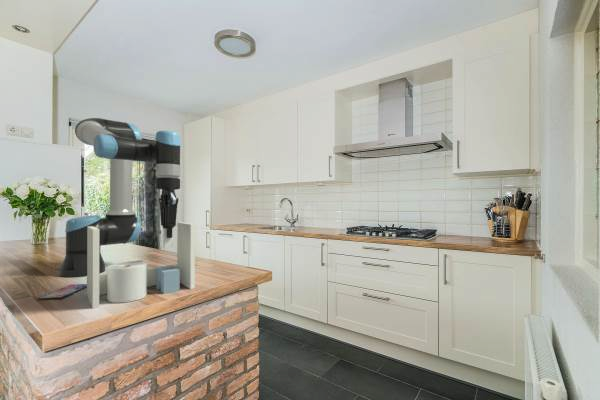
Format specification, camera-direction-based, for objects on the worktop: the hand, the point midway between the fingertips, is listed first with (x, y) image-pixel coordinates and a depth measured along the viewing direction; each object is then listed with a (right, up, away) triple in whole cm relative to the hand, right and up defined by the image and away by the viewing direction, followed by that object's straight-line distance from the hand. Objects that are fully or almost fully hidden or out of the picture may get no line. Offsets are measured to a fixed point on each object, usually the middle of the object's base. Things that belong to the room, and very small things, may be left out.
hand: (168, 247), depth 101 cm
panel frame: (-7, -14, -3) cm, 16 cm away
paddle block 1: (-2, -14, +2) cm, 15 cm away
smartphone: (-32, -15, -3) cm, 35 cm away
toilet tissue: (-10, -15, -7) cm, 19 cm away
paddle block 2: (+1, -14, -2) cm, 15 cm away
